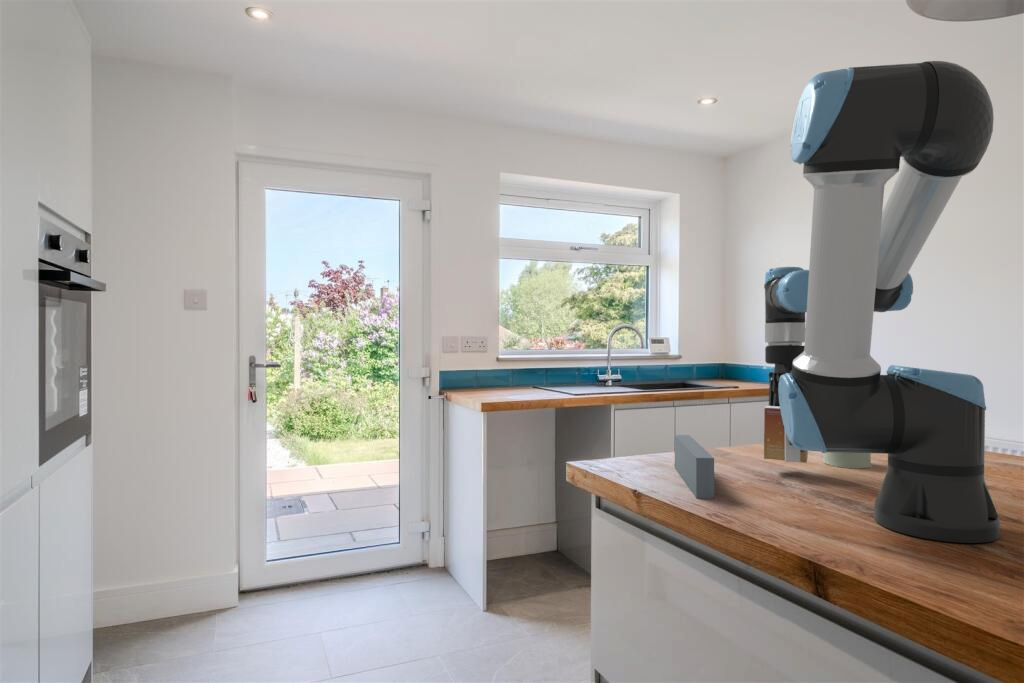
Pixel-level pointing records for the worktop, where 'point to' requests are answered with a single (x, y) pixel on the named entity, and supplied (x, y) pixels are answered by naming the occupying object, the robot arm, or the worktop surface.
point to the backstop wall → (694, 466)
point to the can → (848, 460)
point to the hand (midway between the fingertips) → (785, 457)
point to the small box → (776, 435)
